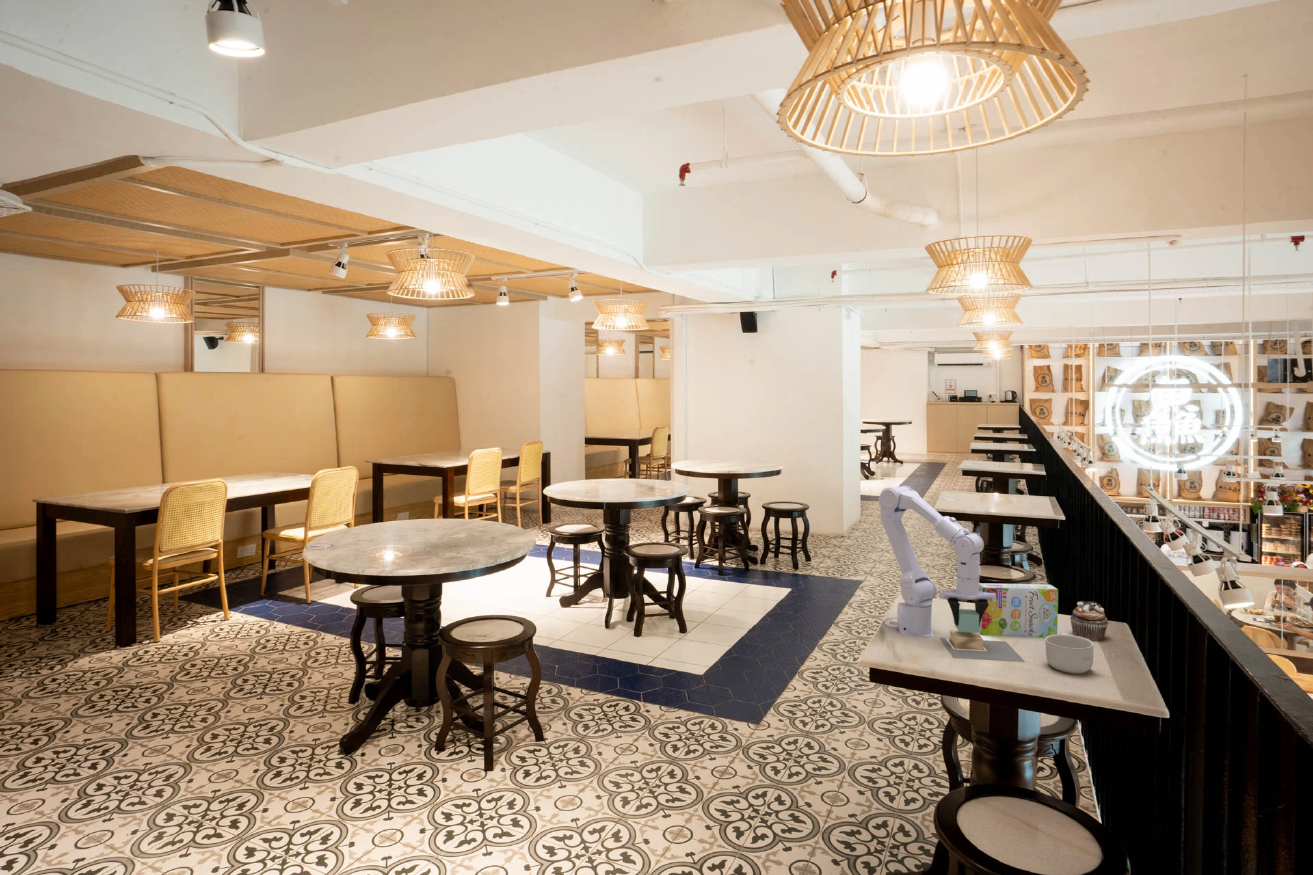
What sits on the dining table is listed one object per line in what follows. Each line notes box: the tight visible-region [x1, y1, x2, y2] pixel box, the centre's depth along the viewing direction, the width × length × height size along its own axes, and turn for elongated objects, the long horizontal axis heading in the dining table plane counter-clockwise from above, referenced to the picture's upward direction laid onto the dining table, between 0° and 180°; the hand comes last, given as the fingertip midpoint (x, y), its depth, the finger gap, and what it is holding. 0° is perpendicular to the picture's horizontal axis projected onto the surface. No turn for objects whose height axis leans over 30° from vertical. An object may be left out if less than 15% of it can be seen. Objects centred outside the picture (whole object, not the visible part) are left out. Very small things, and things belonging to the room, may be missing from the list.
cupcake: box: [1069, 600, 1109, 642], centre depth 207 cm, size 10×10×10 cm
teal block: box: [954, 608, 980, 634], centre depth 198 cm, size 5×5×5 cm
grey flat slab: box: [939, 637, 1026, 663], centre depth 195 cm, size 18×16×1 cm
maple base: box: [949, 629, 984, 650], centre depth 198 cm, size 7×7×3 cm
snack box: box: [978, 582, 1059, 638], centre depth 208 cm, size 21×6×15 cm, turn 84°
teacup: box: [1044, 632, 1095, 675], centre depth 182 cm, size 14×11×8 cm
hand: (966, 624), depth 198 cm, fingers closed on teal block, 5 cm apart
